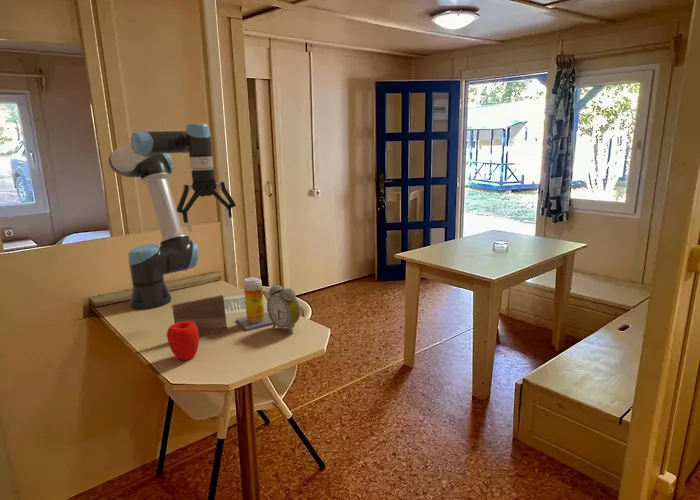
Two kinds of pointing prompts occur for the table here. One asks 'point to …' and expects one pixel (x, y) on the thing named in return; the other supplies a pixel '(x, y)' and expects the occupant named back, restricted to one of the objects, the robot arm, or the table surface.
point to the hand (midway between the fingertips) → (209, 229)
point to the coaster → (250, 326)
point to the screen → (203, 314)
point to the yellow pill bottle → (254, 299)
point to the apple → (183, 339)
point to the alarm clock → (283, 307)
